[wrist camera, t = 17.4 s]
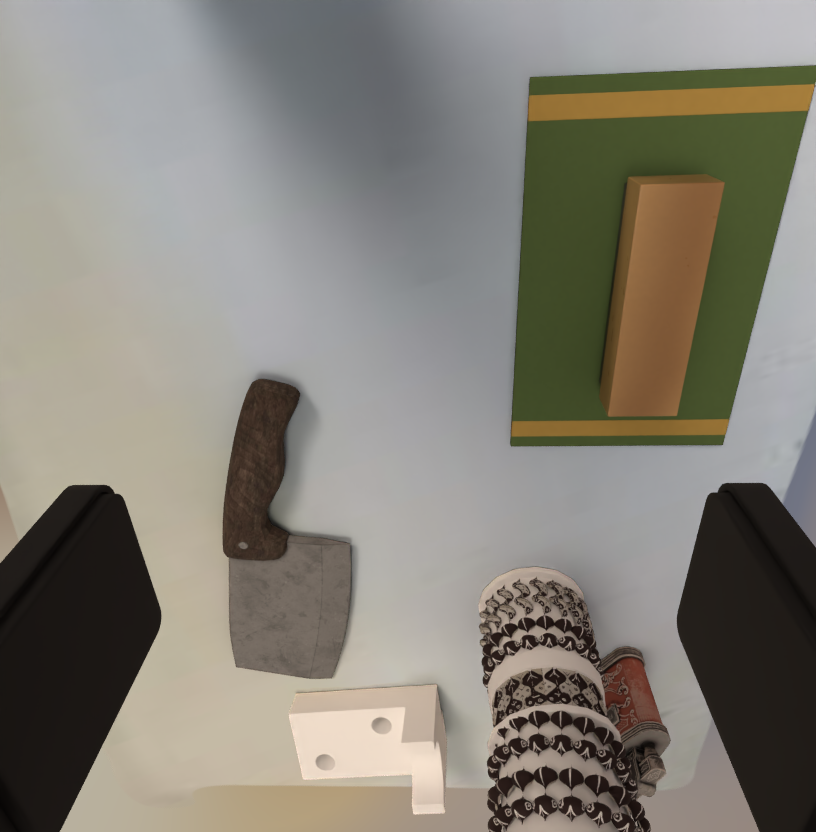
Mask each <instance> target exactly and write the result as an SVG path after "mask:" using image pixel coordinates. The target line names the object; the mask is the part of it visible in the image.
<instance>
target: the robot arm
mask: <svg viewBox="0 0 816 832" xmlns="http://www.w3.org/2000/svg"><path fill="white" fill-rule="evenodd" d="M160 624H161V609H160V606H159V603H158V600H157V597H156V594H155V591H154V588H153V585H152V582H151V579H150V576H149V573H148V570H147V567H146V564H145V561H144V558H143V555H142V552H141V549H140V546H139V543H138V540H137V537H136V534H135V531H134V528H133V525H132V522H131V519H130V516H129V513H128V510H127V507H126V504H125V501H124V499H123V497H122V496H121V495H120V494H115V493H114V491H113V489H112V488H111V487H110V486H107V485H72V486H69V487H67V488H66V489H65V490H64V491H63V492H62V493H61V494H60V495H59V497H58V498H57V499H56V500H55V501H54V502H53V503H52V505H51V506H50V507H49V508H48V509H47V510H46V512H45V513H44V514H43V515H42V516H41V517H40V518H39V520H38V521H37V522H36V523H35V524H34V525H33V526H32V528H31V529H30V530H29V531H28V532H27V533H26V534H25V536H24V537H23V538H22V539H21V540H20V541H19V542H18V544H17V545H16V546H15V547H14V548H13V549H12V551H11V552H10V553H9V554H8V555H7V556H6V557H5V559H4V560H3V561H2V562H1V563H0V832H60V830H61V828H62V826H63V824H64V822H65V820H66V818H67V816H68V814H69V812H70V810H71V808H72V806H73V804H74V802H75V800H76V798H77V796H78V794H79V792H80V790H81V788H82V786H83V784H84V782H85V779H86V778H87V776H88V773H89V772H90V769H91V767H92V765H93V763H94V761H95V759H96V757H97V755H98V753H99V751H100V749H101V747H102V745H103V743H104V741H105V739H106V737H107V735H108V733H109V731H110V729H111V727H112V725H113V723H114V721H115V719H116V717H117V715H118V713H119V711H120V709H121V707H122V705H123V703H124V701H125V698H126V696H127V694H128V692H129V690H130V688H131V686H132V684H133V682H134V680H135V678H136V676H137V674H138V672H139V670H140V668H141V666H142V664H143V662H144V660H145V658H146V656H147V654H148V652H149V650H150V648H151V646H152V644H153V642H154V640H155V638H156V636H157V634H158V631H159V628H160ZM677 628H678V633H679V637H680V640H681V642H682V644H683V647H684V649H685V652H686V654H687V657H688V659H689V661H690V664H691V666H692V669H693V671H694V674H695V676H696V679H697V681H698V683H699V686H700V688H701V691H702V693H703V696H704V698H705V700H706V703H707V705H708V708H709V710H710V713H711V715H712V717H713V720H714V722H715V725H716V727H717V729H718V732H719V734H720V737H721V739H722V742H723V744H724V747H725V749H726V751H727V754H728V756H729V759H730V761H731V764H732V766H733V768H734V770H735V773H736V776H737V778H738V781H739V783H740V785H741V788H742V790H743V793H744V795H745V798H746V800H747V802H748V804H749V807H750V810H751V812H752V815H753V817H754V819H755V822H756V824H757V827H758V829H759V831H760V832H816V547H815V546H814V545H813V544H812V542H811V541H810V540H809V538H808V537H807V536H806V535H805V533H804V532H803V530H802V529H801V528H800V526H799V525H798V524H797V523H796V521H795V520H794V519H793V517H792V516H791V515H790V513H789V512H788V511H787V509H786V508H785V507H784V506H783V504H782V503H781V502H780V500H779V499H778V498H777V496H776V495H775V494H774V492H773V491H772V490H771V489H770V488H769V487H768V486H767V485H766V484H763V483H725V484H722V486H721V487H720V488H719V490H718V493H710V494H709V495H708V497H707V499H706V503H705V507H704V511H703V515H702V519H701V523H700V526H699V530H698V534H697V538H696V542H695V546H694V550H693V554H692V558H691V562H690V566H689V570H688V574H687V578H686V582H685V586H684V590H683V594H682V598H681V601H680V605H679V609H678V614H677Z"/></svg>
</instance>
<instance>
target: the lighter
mask: <svg viewBox="0 0 816 832" xmlns="http://www.w3.org/2000/svg"><path fill="white" fill-rule="evenodd" d="M600 667H601V668H602V669H603V671H604V677H603V679H602V684H603V688H604V693H605V704H606V706H605V707H606V712H607V716H608V719H609V720H610V721H611V723H612V724H613V725H614V726H615V727H616V729H617V730H618V731H619V733H620V736H621V743H622V744H623V745H624V747H625V749H626V755H625V757H627V758H628V759H629V761H630V763H631V769H630V772H631V779H633V780H634V781H635V782H636V784H637V786H638V793H637V795H636V797H635V798H636V799H638V798H639V797H640V796H641V795H645V796H648V797H651V796H652V795H654V794H655V791H656V784H657V782H658V781H659V780H660V779H661V778H662V777H663V776H664V775H665V774H666V771H665V767H664V764H663V761H662V759H661V758H660V756H661V755H662V753H663V752H664V750H665V749H666V748H667V746H668V745H669V744H670V741H671V740H670V737H669V734H668V731H667V728H666V727H665V726H664V725H663V724H662V721H661V718H660V715H659V712H658V709H657V706H656V703H655V700H654V697H653V694H652V691H651V688H650V685H649V682H648V679H647V676H646V673H645V670H644V667H645V662H644V659H643V656H642V653H641V652H640V651H639V650H638V649H636V648H633V647H621V648H618V649H616V650H614V651H613V652H612V653H610V654H609V655H608V656H606V657H605V658H604V659H603V660H601V666H600ZM617 762H619V760H618V761H617ZM625 789H626V788H625Z"/></svg>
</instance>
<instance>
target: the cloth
mask: <svg viewBox="0 0 816 832" xmlns="http://www.w3.org/2000/svg"><path fill="white" fill-rule="evenodd" d="M815 82H816V66H791V67H767V68H743V69H719V70H695V71H670V72H646V73H622V74H598V75H574V76H549V77H530V84H529V103H528V122H527V141H526V159H525V178H524V197H523V216H522V235H521V254H520V273H519V291H518V310H517V329H516V348H515V367H514V386H513V405H512V423H511V442H510V445H511V446H637V445H723V442H724V438H725V434H726V431H727V427H728V423H729V418H730V414H731V410H732V407H733V403H734V399H735V395H736V391H737V387H738V383H739V379H740V375H741V371H742V367H743V364H744V360H745V356H746V352H747V348H748V344H749V340H750V336H751V332H752V328H753V324H754V321H755V317H756V313H757V309H758V305H759V301H760V297H761V293H762V289H763V285H764V281H765V278H766V274H767V270H768V266H769V262H770V258H771V254H772V250H773V246H774V242H775V238H776V235H777V231H778V227H779V223H780V219H781V215H782V211H783V207H784V203H785V199H786V195H787V191H788V188H789V184H790V180H791V176H792V172H793V168H794V164H795V160H796V156H797V152H798V148H799V145H800V141H801V137H802V133H803V129H804V125H805V121H806V117H807V113H808V110H809V106H810V102H811V98H812V94H813V91H814V87H815ZM696 174H707V175H709V176H712V177H714V178H716V179H718V180H721V181H723V182H725V185H724V190H723V194H722V199H721V204H720V209H719V214H718V219H717V224H716V228H715V233H714V238H713V243H712V248H711V253H710V258H709V262H708V267H707V272H706V277H705V282H704V287H703V291H702V296H701V301H700V306H699V311H698V316H697V321H696V325H695V330H694V335H693V340H692V345H691V350H690V355H689V359H688V364H687V369H686V374H685V379H684V384H683V389H682V393H681V398H680V403H679V408H678V413H677V416H617V417H609V416H607V413H606V411H605V409H604V407H603V405H602V403H601V400H600V398H599V394H600V387H601V384H600V382H599V378H600V370H601V362H602V355H603V347H604V339H605V332H606V324H607V316H608V308H609V301H610V293H611V285H612V278H613V270H614V262H615V254H616V247H617V239H618V231H619V224H620V216H621V208H622V200H623V193H624V185H625V183H627V181H628V177H633V176H664V175H696Z"/></svg>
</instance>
